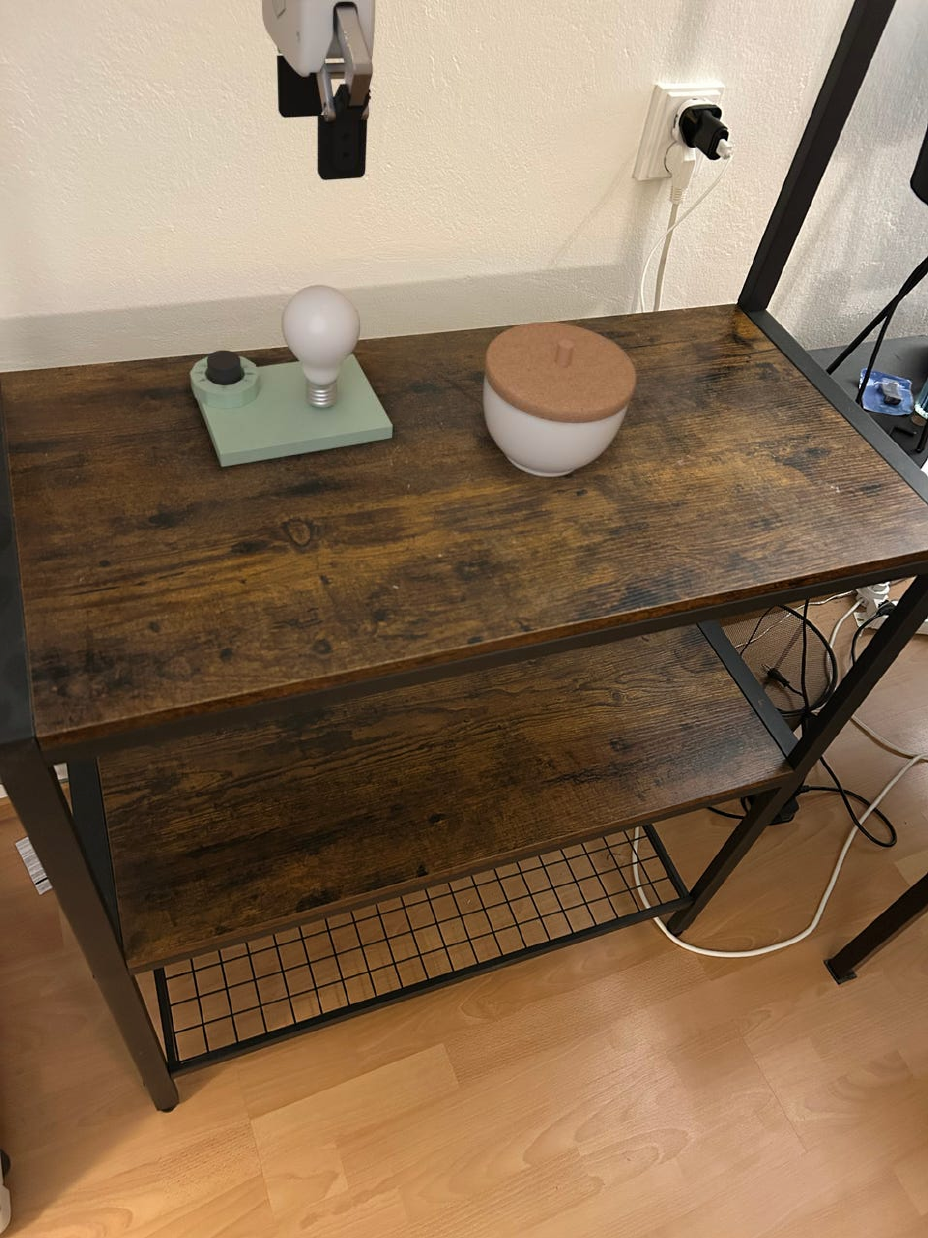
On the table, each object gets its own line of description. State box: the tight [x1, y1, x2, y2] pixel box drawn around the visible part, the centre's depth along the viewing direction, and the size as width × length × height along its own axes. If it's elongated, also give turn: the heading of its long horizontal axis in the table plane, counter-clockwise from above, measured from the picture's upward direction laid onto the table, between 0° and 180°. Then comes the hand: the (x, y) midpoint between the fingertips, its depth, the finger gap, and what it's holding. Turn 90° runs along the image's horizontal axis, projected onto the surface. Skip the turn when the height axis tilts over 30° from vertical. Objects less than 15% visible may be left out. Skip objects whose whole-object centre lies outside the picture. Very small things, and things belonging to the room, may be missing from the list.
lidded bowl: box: [482, 321, 638, 478], centre depth 82 cm, size 13×13×11 cm
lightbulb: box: [281, 284, 361, 407], centre depth 81 cm, size 6×6×11 cm
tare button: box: [207, 349, 242, 385], centre depth 84 cm, size 3×3×2 cm
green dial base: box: [189, 353, 394, 468], centre depth 85 cm, size 15×11×3 cm
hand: (320, 144), depth 68 cm, fingers open, 9 cm apart
